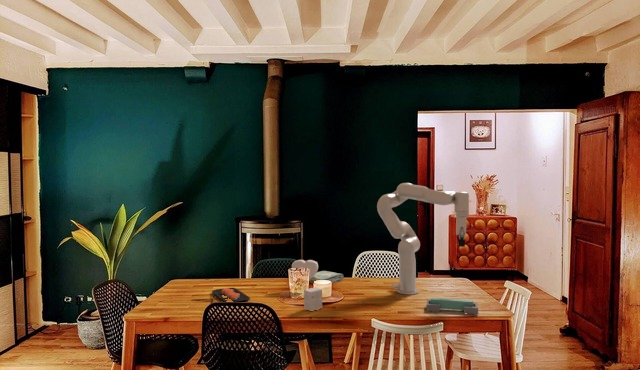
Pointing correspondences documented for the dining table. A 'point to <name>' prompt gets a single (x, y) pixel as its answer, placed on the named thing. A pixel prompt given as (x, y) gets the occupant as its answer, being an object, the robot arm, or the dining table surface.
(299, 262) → the heart sculpture
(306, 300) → the small box
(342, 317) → the dining table surface
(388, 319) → the dining table surface
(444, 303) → the slat
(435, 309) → the end caps
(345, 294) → the dining table surface
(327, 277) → the towel
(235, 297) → the sushi plate
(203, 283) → the dining table surface
